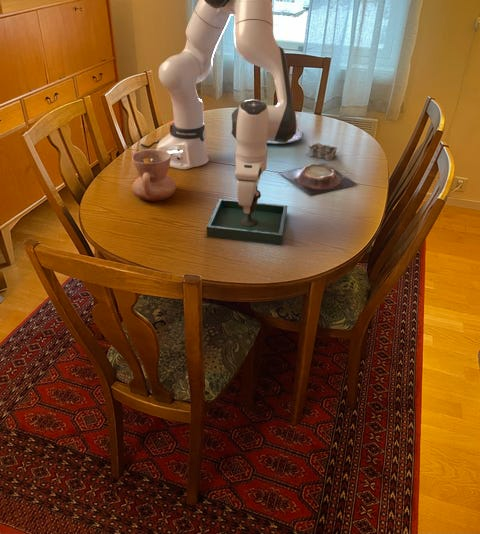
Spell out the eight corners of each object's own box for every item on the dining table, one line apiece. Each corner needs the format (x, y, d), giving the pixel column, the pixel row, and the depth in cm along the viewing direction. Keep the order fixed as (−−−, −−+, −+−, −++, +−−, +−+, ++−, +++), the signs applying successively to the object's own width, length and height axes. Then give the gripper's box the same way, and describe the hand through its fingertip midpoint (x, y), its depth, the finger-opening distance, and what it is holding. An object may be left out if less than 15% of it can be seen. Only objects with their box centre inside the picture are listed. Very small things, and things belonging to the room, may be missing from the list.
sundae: (244, 230, 136) (244, 188, 125) (234, 218, 140) (233, 177, 130) (263, 224, 138) (265, 182, 128) (253, 212, 142) (254, 171, 132)
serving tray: (206, 236, 134) (206, 226, 132) (219, 207, 148) (219, 198, 146) (281, 245, 131) (281, 235, 129) (286, 214, 145) (287, 205, 143)
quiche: (324, 164, 178) (326, 154, 176) (357, 185, 164) (359, 174, 162) (279, 173, 171) (280, 163, 168) (309, 196, 156) (310, 185, 154)
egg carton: (306, 155, 185) (307, 146, 183) (313, 149, 190) (314, 140, 188) (330, 161, 181) (332, 151, 178) (337, 155, 186) (339, 145, 184)
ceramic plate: (264, 123, 215) (265, 116, 214) (312, 135, 204) (313, 129, 202) (232, 138, 198) (232, 131, 197) (282, 152, 187) (283, 145, 185)
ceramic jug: (142, 182, 161) (137, 144, 153) (182, 186, 160) (179, 147, 151) (124, 206, 147) (119, 165, 138) (168, 210, 145) (165, 169, 137)
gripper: (245, 147, 136) (244, 188, 144) (233, 175, 120) (232, 221, 128) (266, 149, 135) (264, 190, 143) (257, 178, 119) (254, 223, 127)
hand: (249, 205), depth 136 cm, fingers open, 7 cm apart
